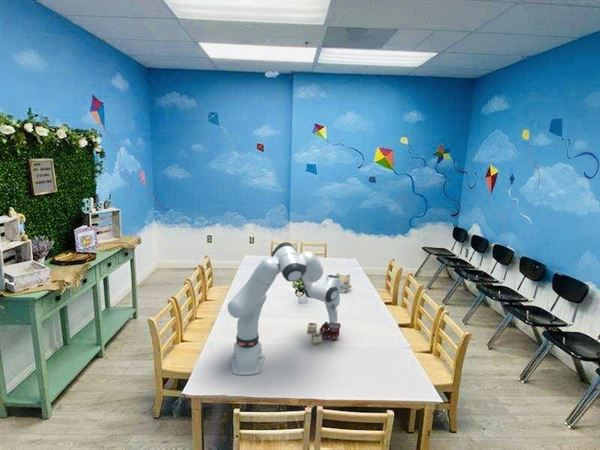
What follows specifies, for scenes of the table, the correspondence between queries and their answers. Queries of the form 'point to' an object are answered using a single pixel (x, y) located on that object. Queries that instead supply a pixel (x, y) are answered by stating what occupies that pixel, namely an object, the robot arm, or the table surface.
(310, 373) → the table surface
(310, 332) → the maple cube seven
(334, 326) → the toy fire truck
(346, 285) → the kitten
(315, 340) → the maple cube one
